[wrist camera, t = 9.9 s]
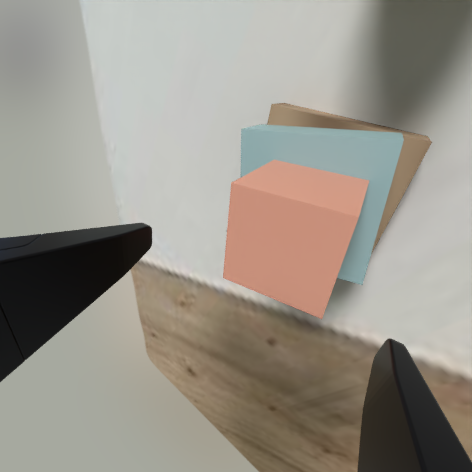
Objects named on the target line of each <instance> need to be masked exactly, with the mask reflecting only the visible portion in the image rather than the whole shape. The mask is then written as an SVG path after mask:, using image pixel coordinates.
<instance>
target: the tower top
mask: <svg viewBox="0 0 472 472" xmlns="http://www.w3.org/2000/svg"><path fill="white" fill-rule="evenodd" d="M403 141H404V139H403V135H402V133H396V132H379V131H363V130H346V129H330V128H314V127H297V126H281V125H264V124H261V125H257V126H252V127H248V128H243V129H242V130H241V177H243V176H245V175H247V174H249V173H250V172H252V171H254V170H256V169H258V168H260V167H261V166H263V165H265V164H267V163H269V162H271V161H272V160H278V161H283V162H287V163H292V164H296V165H301V166H306V167H310V168H315V169H319V170H324V171H328V172H333V173H337V174H342V175H346V176H351V177H356V178H360V179H365V180H369V184H368V187H367V191H366V194H365V198H364V201H363V205H362V208H361V212H360V215H359V218H358V221H357V224H356V227H355V229H354V232H353V235H352V238H351V240H350V243H349V246H348V249H347V251H346V254H345V257H344V260H343V262H342V265H341V268H340V271H339V273H338V276H337V278H339V279H342V280H346V281H350V282H353V283H357V284H360V285H362V284H363V281H364V277H365V274H366V270H367V267H368V263H369V260H370V256H371V253H372V249H373V246H374V242H375V239H376V235H377V232H378V228H379V225H380V221H381V218H382V214H383V211H384V208H385V204H386V201H387V197H388V194H389V190H390V187H391V183H392V180H393V176H394V173H395V169H396V166H397V162H398V159H399V155H400V152H401V148H402V145H403Z"/></svg>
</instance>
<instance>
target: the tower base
mask: <svg viewBox="0 0 472 472" xmlns="http://www.w3.org/2000/svg"><path fill="white" fill-rule="evenodd" d="M267 125H281V126H297V127H314V128H330V129H346V130H363V131H379V132H396V133H402V135H403V139H404V141H403V145H402V148H401V152H400V155H399V159H398V162H397V166H396V169H395V173H394V176H393V180H392V183H391V187H390V190H389V194H388V197H387V201H386V204H385V208H384V211H383V214H382V218H381V221H380V225H379V228H378V232H377V235H376V239H375V242H374V246H373V249H372V252H373V250H374V248H375V246H376V244H377V243H378V241H379V239H380V237H381V235H382V233H383V231H384V230H385V228H386V226H387V224H388V222H389V220H390V219H391V217H392V215H393V213H394V211H395V209H396V207H397V206H398V204H399V202H400V200H401V198H402V196H403V195H404V193H405V191H406V189H407V187H408V185H409V183H410V182H411V180H412V178H413V176H414V174H415V172H416V171H417V169H418V167H419V165H420V163H421V161H422V159H423V158H424V156H425V154H426V152H427V150H428V148H429V146H430V145H431V143H432V142H431V141H430V139H429V138H428V137H427V136H423V135H419V134H415V133H410V132H406V131H402V130H398V129H393V128H389V127H385V126H380V125H376V124H372V123H368V122H363V121H359V120H355V119H350V118H346V117H342V116H338V115H333V114H329V113H325V112H320V111H316V110H312V109H308V108H303V107H299V106H295V105H290V104H286V103H279V104H272V105H271V110H270V114H269V119H268V124H267ZM371 254H372V253H371Z"/></svg>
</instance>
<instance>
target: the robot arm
mask: <svg viewBox="0 0 472 472" xmlns="http://www.w3.org/2000/svg"><path fill="white" fill-rule="evenodd" d="M151 246H152V228H151V227H150V226H149V225H147V224H144V223H134V224H126V225H117V226H108V227H100V228H90V229H82V230H73V231H64V232H55V233H46V234H42V235H41V234H37V235H29V236H19V237H7V238H0V382H1V381H2V380H3V379H4V378H6V377H7V376H8V375H9V374H10V373H11V372H13V371H14V370H15V369H16V368H17V367H18V366H19V365H21V364H22V363H23V362H24V361H25V360H26V359H27V358H28V357H30V356H31V355H32V354H33V353H34V352H36V351H37V350H38V349H39V348H40V347H41V346H43V345H44V344H45V343H46V342H47V341H48V340H50V339H51V338H52V337H53V336H54V335H55V334H57V333H58V332H59V331H60V330H61V329H62V328H64V327H65V326H66V325H67V324H68V323H69V322H71V321H72V320H73V319H74V318H75V317H76V316H78V315H79V314H80V313H81V312H82V311H83V310H85V309H86V308H87V307H88V306H89V305H90V304H92V303H93V302H94V301H95V300H96V299H97V298H98V297H100V296H101V295H102V294H103V293H104V292H106V291H107V290H108V289H109V288H110V287H111V286H112V285H113V284H115V283H116V282H117V281H118V280H119V279H121V278H122V277H123V276H124V275H125V274H126V273H127V272H128V271H129V270H130V269H131V268H132V267H133V266H134V265H135V264H136V263H137V262H138V261H139V260H140V259H141V258H142V256H143V255H144V254H145V253H146V252H147V251H148V250H149V249H150V248H151ZM358 472H472V462H471V460H470V458H469V457H468V455H467V453H466V451H465V450H464V448H463V446H462V444H461V443H460V441H459V439H458V437H457V436H456V434H455V432H454V431H453V429H452V427H451V425H450V424H449V422H448V420H447V418H446V417H445V415H444V413H443V411H442V410H441V408H440V406H439V404H438V403H437V401H436V399H435V397H434V396H433V394H432V392H431V390H430V389H429V387H428V385H427V383H426V382H425V380H424V378H423V377H422V375H421V373H420V371H419V370H418V368H417V366H416V364H415V363H414V361H413V359H412V357H411V356H410V354H409V352H408V350H407V349H406V347H405V346H404V345H403V344H402V343H400V342H397V341H395V340H393V339H387V340H386V341H385V343H384V344H383V345H382V347H381V348H380V350H379V351H378V352H377V354H376V355H375V357H374V360H373V364H372V369H371V374H370V378H369V383H368V387H367V392H366V397H365V401H364V407H363V414H362V425H361V436H360V448H359V460H358Z"/></svg>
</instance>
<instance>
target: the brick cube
mask: <svg viewBox="0 0 472 472" xmlns="http://www.w3.org/2000/svg"><path fill="white" fill-rule="evenodd" d="M368 184H369V180H365V179H360V178H356V177H351V176H346V175H342V174H337V173H333V172H328V171H324V170H319V169H315V168H310V167H306V166H301V165H296V164H292V163H287V162H283V161H278V160H272V161H271V162H269V163H267V164H265V165H263V166H261V167H260V168H258V169H256V170H254V171H252V172H250V173H249V174H247V175H245V176H243V177H241V178H239V179H238V180H236V181H234V182H232V183H231V194H230V205H229V216H228V228H227V239H226V250H225V262H224V273H223V278H225V279H227V280H230V281H232V282H234V283H237V284H239V285H242V286H244V287H246V288H249V289H251V290H254V291H256V292H258V293H261V294H263V295H265V296H268V297H270V298H273V299H275V300H277V301H280V302H282V303H285V304H287V305H289V306H292V307H294V308H297V309H299V310H301V311H304V312H306V313H308V314H311V315H313V316H316V317H318V318H320V319H322V317H323V315H324V312H325V309H326V306H327V304H328V301H329V298H330V295H331V293H332V290H333V287H334V284H335V282H336V279H337V276H338V273H339V271H340V268H341V265H342V262H343V260H344V257H345V254H346V251H347V249H348V246H349V243H350V240H351V238H352V235H353V232H354V229H355V227H356V224H357V221H358V218H359V215H360V212H361V208H362V205H363V201H364V198H365V194H366V191H367V187H368Z"/></svg>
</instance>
